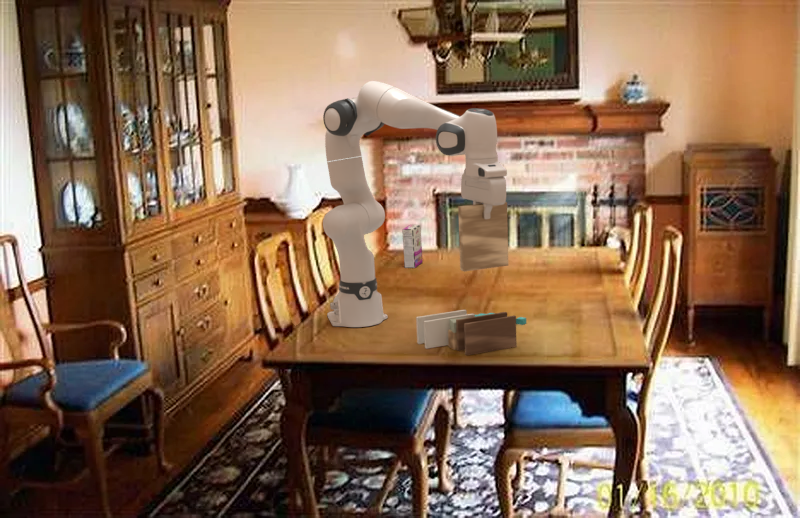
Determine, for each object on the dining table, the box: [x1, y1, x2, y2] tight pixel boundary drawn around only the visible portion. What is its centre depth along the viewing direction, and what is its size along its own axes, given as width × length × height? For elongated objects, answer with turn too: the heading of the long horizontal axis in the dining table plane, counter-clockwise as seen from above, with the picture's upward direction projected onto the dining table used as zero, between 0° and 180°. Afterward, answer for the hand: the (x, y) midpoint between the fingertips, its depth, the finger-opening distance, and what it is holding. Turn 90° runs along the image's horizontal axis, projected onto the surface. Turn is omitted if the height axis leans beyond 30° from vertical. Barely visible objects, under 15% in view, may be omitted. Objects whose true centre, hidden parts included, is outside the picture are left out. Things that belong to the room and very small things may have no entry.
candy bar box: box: [401, 224, 423, 269], centre depth 381 cm, size 11×5×16 cm, turn 162°
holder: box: [415, 309, 476, 350], centre depth 270 cm, size 6×16×8 cm, turn 113°
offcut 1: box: [450, 318, 463, 333], centre depth 264 cm, size 4×5×3 cm
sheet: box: [457, 201, 509, 273], centre depth 256 cm, size 2×14×18 cm, turn 113°
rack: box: [456, 311, 517, 356], centre depth 262 cm, size 6×16×9 cm, turn 113°
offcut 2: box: [448, 330, 458, 351], centre depth 265 cm, size 4×6×5 cm, turn 113°
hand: (483, 218), depth 255 cm, fingers closed on sheet, 2 cm apart
